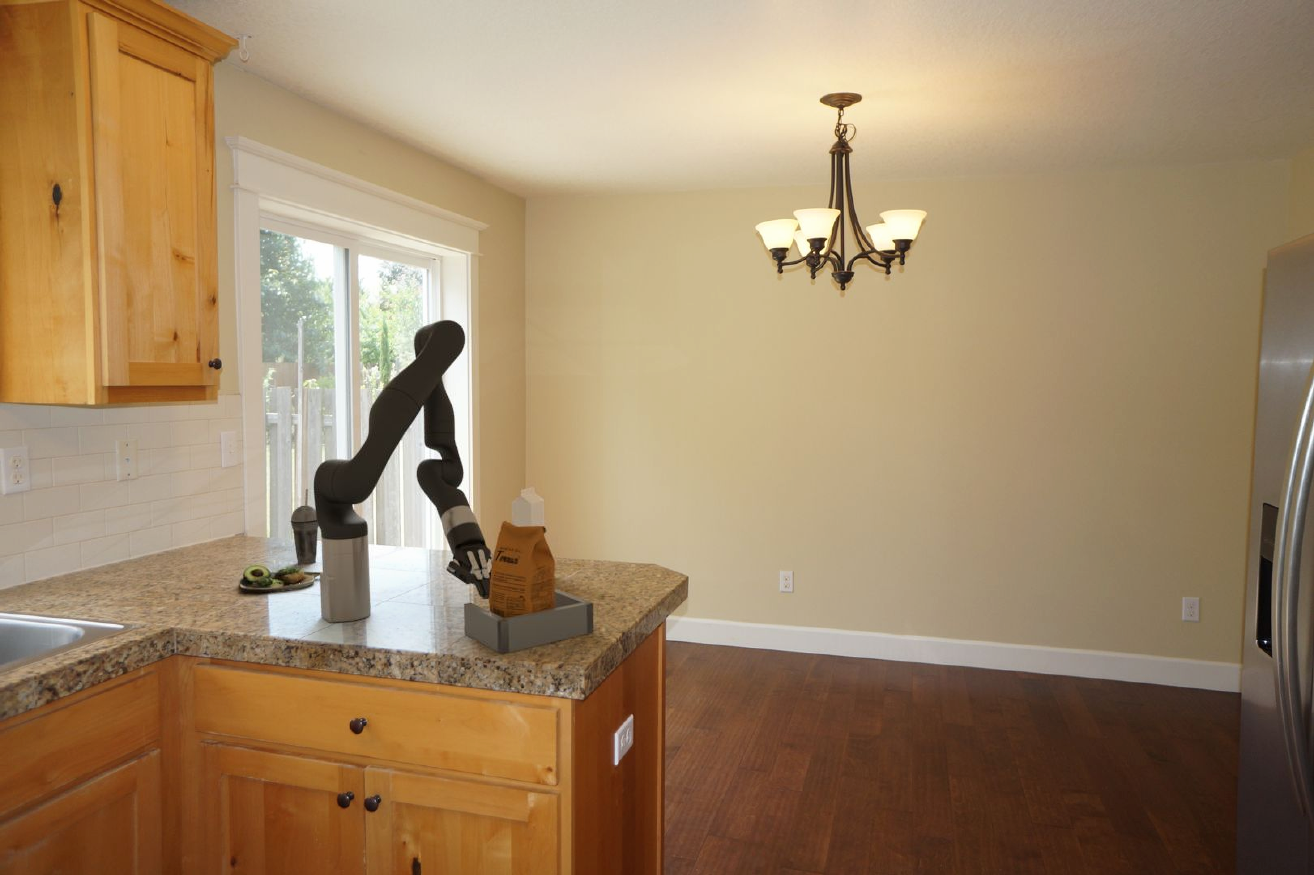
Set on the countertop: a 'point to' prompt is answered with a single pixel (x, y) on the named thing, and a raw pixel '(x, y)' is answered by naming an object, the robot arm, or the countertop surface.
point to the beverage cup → (305, 533)
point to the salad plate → (274, 579)
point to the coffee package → (521, 572)
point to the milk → (528, 509)
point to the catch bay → (530, 624)
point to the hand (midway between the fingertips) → (488, 596)
